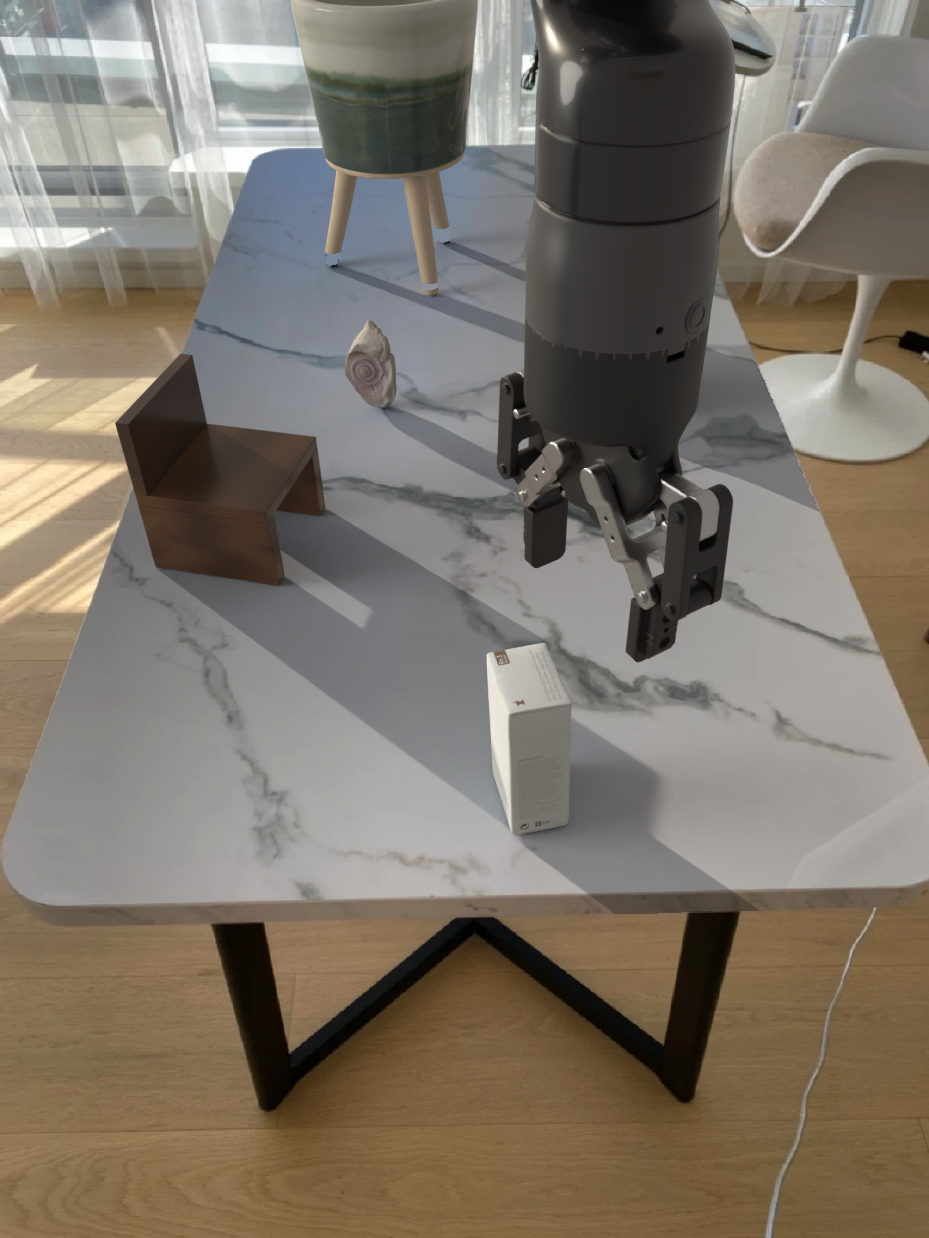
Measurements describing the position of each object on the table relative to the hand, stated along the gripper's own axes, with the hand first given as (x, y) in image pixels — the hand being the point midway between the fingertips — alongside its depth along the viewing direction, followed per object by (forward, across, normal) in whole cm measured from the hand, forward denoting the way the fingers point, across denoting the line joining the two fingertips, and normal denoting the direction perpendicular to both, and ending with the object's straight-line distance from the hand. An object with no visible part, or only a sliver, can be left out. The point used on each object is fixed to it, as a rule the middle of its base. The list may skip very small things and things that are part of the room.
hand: (593, 604), depth 53 cm
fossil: (+24, -60, +18) cm, 67 cm away
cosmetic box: (+24, -7, +1) cm, 25 cm away
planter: (+24, -91, +39) cm, 102 cm away
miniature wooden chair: (+24, -47, -4) cm, 52 cm away
